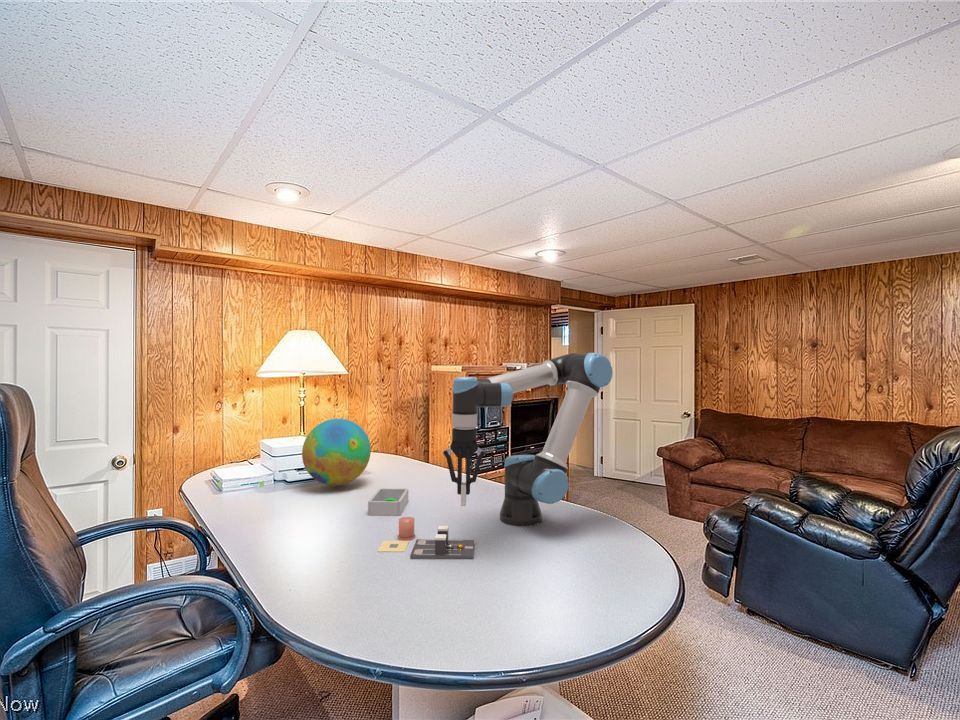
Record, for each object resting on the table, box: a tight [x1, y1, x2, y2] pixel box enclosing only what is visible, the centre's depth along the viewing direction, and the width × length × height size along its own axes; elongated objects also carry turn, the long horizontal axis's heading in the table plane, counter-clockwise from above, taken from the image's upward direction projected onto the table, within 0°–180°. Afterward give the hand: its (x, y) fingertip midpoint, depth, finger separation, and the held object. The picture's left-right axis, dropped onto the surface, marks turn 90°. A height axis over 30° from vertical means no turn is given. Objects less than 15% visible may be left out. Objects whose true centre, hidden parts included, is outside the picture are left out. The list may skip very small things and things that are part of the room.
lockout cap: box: [397, 516, 416, 541], centre depth 150 cm, size 6×6×6 cm
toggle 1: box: [437, 525, 449, 545], centre depth 143 cm, size 3×3×5 cm
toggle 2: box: [434, 533, 446, 554], centre depth 136 cm, size 3×3×5 cm
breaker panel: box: [409, 538, 475, 560], centre depth 139 cm, size 18×12×2 cm, turn 89°
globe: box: [301, 418, 372, 487], centre depth 214 cm, size 30×30×30 cm
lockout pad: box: [377, 540, 410, 553], centre depth 142 cm, size 8×8×1 cm
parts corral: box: [367, 487, 409, 517], centre depth 181 cm, size 12×18×5 cm, turn 179°
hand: (463, 504), depth 142 cm, fingers closed
